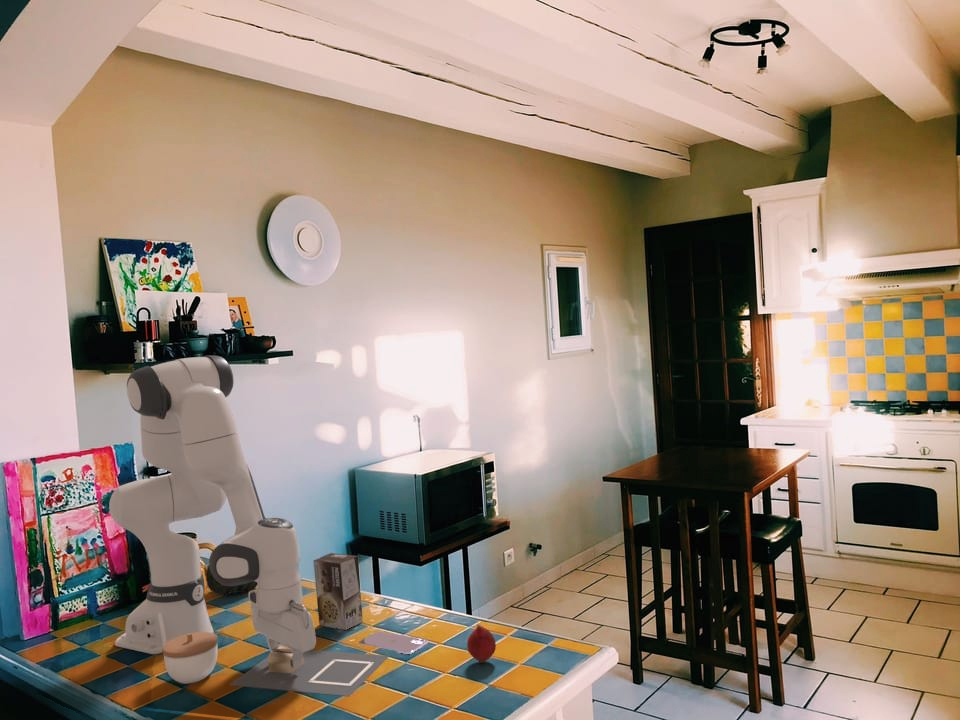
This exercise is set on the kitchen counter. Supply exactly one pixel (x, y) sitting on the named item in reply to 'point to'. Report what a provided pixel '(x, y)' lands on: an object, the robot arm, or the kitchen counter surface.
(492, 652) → the onion
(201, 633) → the lidded jar
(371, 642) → the mobile phone
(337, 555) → the coffee box
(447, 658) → the kitchen counter surface
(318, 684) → the rubber mat
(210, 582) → the squash
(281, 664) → the taped cardboard box
